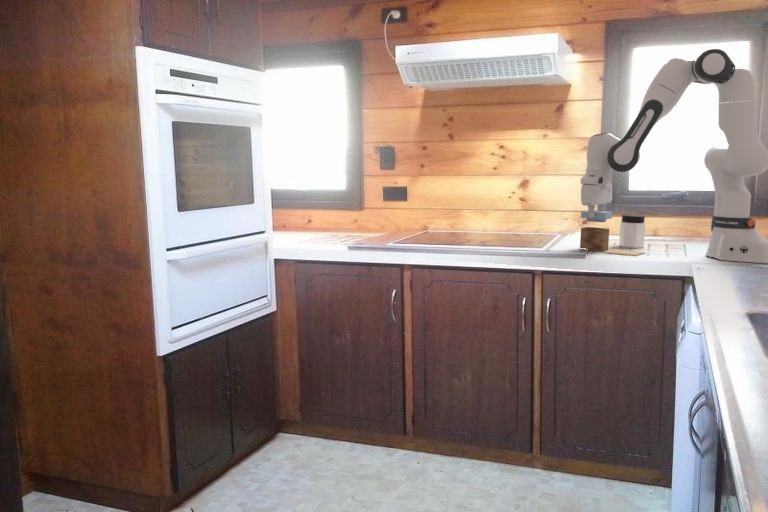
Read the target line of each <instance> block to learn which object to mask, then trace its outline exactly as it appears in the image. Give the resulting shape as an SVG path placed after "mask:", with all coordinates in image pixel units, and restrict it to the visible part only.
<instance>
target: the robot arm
mask: <svg viewBox="0 0 768 512" xmlns="http://www.w3.org/2000/svg"><path fill="white" fill-rule="evenodd" d="M693 83H697V84H702V85H708V84H709V85H710V84H714V85H715V86H716V88H717V91H718V127H719V129H720V130H721V131H722V132H723V134H724V136H725V138H726V139H725V140H726V142H727V143H720V144H718V145H714V146H712V147H711V148H709V149H708V150H707V151H706V153H705V156H704V165H705V168H706V169H707V170H708V171H709V173H710V175H711V179H712V183H713V187H714V188H713V190H714V208H713V209H714V210H713V215H712V216H711V217H712V218H711V221H710V222H711V223H710V231H711V235H710V238H709V244H708V247H707V249H706V253H705V257H708V256H709V257H708V258H711V257H714V258H713V259H715V258H717V259H716V260H718V259H719V260H718V261H729V262H741V263H742V262H743V263H755V264H757V263H758V264H768V239H767V238H766V237H765V236H764V235H762V233H760V232H759V231H758V230H756V229H755V228H756V223H757V220H756V219H753V218H752V217H750V214H751V203H752V194H751V192H750V191H749V190H748V188H747V187H746V183H745V179H744V177H747V178H748V177H755V176H758V175H761V174H764V173H765V172H766V171H767V170H768V148H767V147H766V146H765V145H764V144H763V142H762V141H761V137H760V136H759V133H758V129H757V128H758V127H757V121H756V120H757V119H756V87H755V86H756V85H755V80H754V75H753V73H752V71H751V70H750V69H748V68H745V67H736V65H735V63H734V62H733V60H732V59H731V58H730V56H729V54H728V53H727V52H726V51H724V50H723V49H721V48H718V47H711V48H707V49H705V50H703V51H701V52H699V54H697V55H696V56H695V57H694V58H692V59H686V58H684V57H680V56H677V57H676V56H675V57H670V58H669V59H668V60H667V61H666V62H665V64H664V65H662V67H661V68H660V70H659V71H658V72H657V74H656V75H655V76H654V77H653V79H652V81H651V83H650V84H649V86H648V88H647V90H646V93H645V95H644V97H643V100H642V103H641V106H640V110H639V111H638V114H637V116H636V117H635V120H634V121H633V123H632V124H631V126H630V127H629V129H628V130H627V132H626V134H625V135H624V136H623V138H622V139H620V138H618V137H616V136H614V135H613V134H612V133H611V132H602V133H601V132H600V133H597V134H594V135H591V136H590V138H589V139H588V142H587V145H586V146H587V147H586V162H587V164H586V169H585V174H584V175H583V176H582V177H581V178H580V185H581V188H580V202H581V204H582V206H587V210H589V217H590V218H594V217H595V216H596V213H595V211H596V210H595V208H596V206H597V205H598V210H597V211H605V210H606V205H607V204H610V203H612V200H613V185H612V170H614V171H616V172H620V173H624V172H625V173H627V172H629V171H631V170H633V169H634V168H635V167H636V165H637V164H638V163H639V160H640V157H641V155H640V149H641V148H642V145H643V143H644V142H645V140H646V139H647V137H648V135H649V134H650V132H651V131H652V129H653V128H654V126H655V125H656V124H657V122H659V121H660V120H661V119H662V118H664V117H665V116H666V115H668V114H669V113H671V111H672V110H673V109H674V107H675V106H676V105H677V103H678V102H679V101H680V99H681V98H682V96H683V95H684V93H685V91H686V89H687V88H688V87H689V86H690V84H693Z"/></svg>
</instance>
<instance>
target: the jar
mask: <svg viewBox="0 0 768 512" xmlns="http://www.w3.org/2000/svg"><path fill="white" fill-rule="evenodd" d="M645 229H646V222H645V215H643V214H634V213H633V214H631V213H630V214H622V215H621V221H620V228H619V241H618V242H619V244H618V245H619V246H620V247H622V248H628V249H629V248H631V249H641V248H644V247H645V246H644V245H645V234H646V233H645Z"/></svg>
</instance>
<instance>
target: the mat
mask: <svg viewBox="0 0 768 512" xmlns="http://www.w3.org/2000/svg"><path fill="white" fill-rule="evenodd" d="M601 253H602V254H610V255H611V254H612V255H619V256H620V255H622V256H630V257H631V256H632V257H638V256H641V255H644V254H645V253H646V252H644V251H636V250H625V249H618V248H617V249H615V248H610V249H609V250H607V251H603V252H601Z"/></svg>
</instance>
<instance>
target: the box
mask: <svg viewBox="0 0 768 512" xmlns="http://www.w3.org/2000/svg"><path fill="white" fill-rule="evenodd" d="M609 242H610V228H606V227H605V228H604V227H592V226H585V227H581V228H580V240H579V243H580V244H579V249H580V248H586V249H588V250H589V252H590V251H591V252H598V253H599V252H600V253H602V252H603V251H607V250H610V249H609ZM588 250H587V251H588Z"/></svg>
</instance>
